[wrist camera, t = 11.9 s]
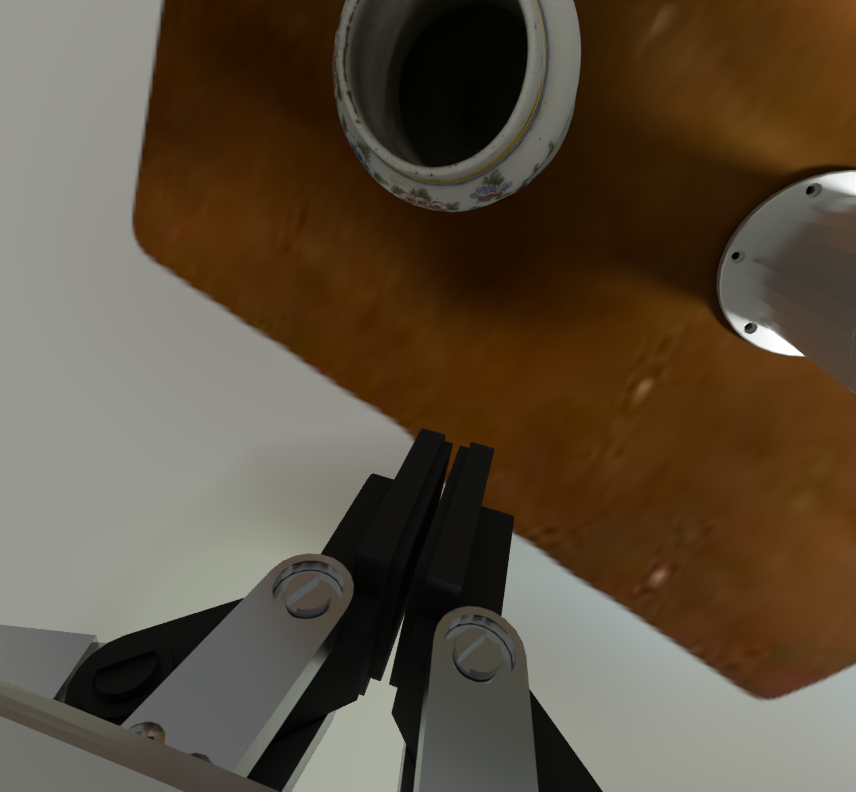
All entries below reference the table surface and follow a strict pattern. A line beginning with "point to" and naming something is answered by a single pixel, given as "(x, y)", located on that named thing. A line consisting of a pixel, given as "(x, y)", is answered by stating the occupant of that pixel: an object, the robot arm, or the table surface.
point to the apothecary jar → (456, 94)
